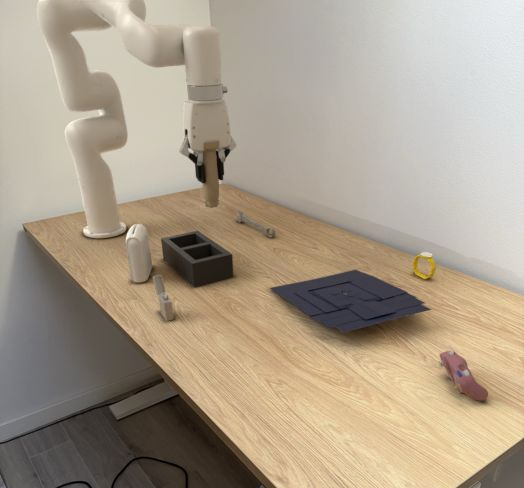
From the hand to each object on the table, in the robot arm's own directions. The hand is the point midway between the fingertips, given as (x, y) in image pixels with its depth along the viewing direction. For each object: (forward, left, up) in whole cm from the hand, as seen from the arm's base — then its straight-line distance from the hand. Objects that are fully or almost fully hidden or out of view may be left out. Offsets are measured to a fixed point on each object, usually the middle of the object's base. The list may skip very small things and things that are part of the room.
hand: (210, 179), depth 120 cm
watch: (+33, +39, -22) cm, 56 cm away
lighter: (+16, -21, -22) cm, 34 cm away
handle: (0, 0, -6) cm, 6 cm away
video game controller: (+68, +12, -22) cm, 73 cm away
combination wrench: (-19, +22, -22) cm, 37 cm away
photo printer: (-6, -18, -22) cm, 29 cm away
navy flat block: (+35, +14, -22) cm, 44 cm away
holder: (-2, -5, -22) cm, 22 cm away
